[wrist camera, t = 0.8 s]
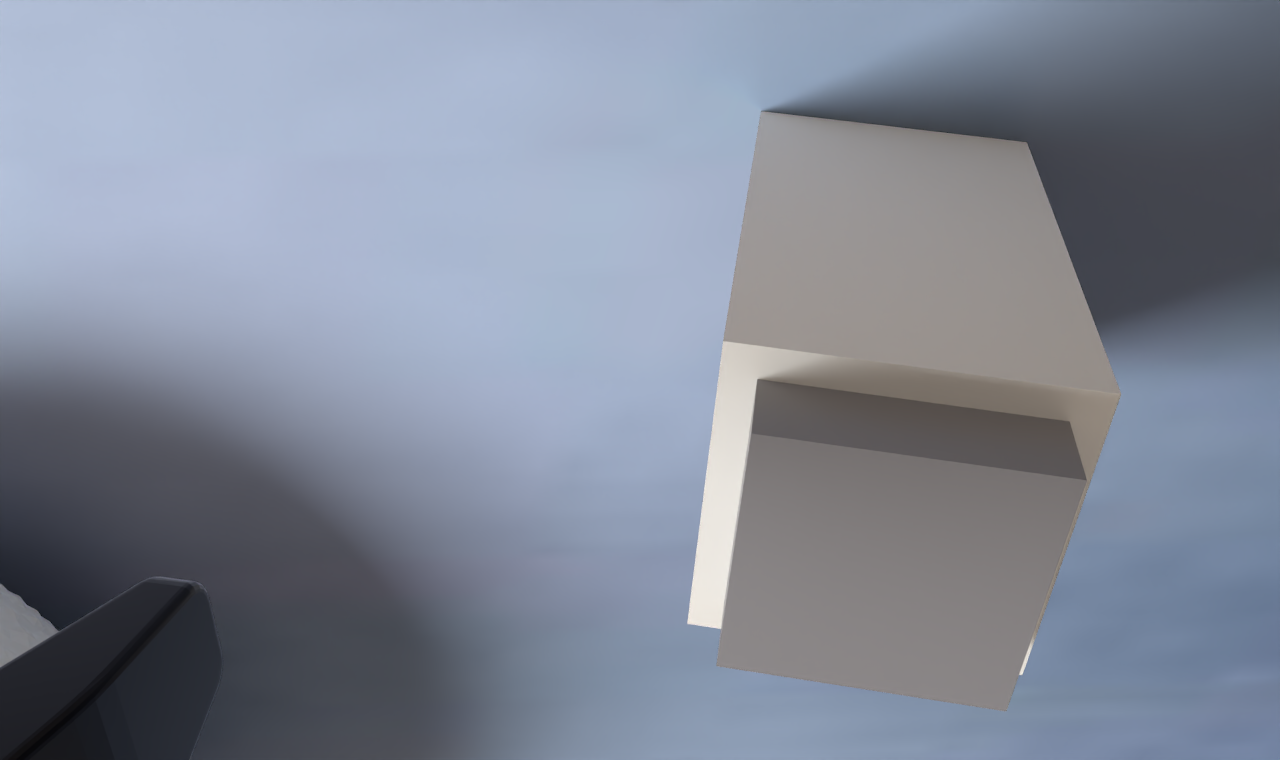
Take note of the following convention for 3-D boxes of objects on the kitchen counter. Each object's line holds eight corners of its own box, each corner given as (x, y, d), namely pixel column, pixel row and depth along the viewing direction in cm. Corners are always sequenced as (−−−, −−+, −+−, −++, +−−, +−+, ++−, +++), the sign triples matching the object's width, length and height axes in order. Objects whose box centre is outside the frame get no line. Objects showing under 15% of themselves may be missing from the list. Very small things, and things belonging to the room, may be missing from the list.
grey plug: (1026, 142, 18) (1143, 452, 11) (967, 367, 20) (1033, 741, 13) (761, 111, 18) (715, 393, 11) (731, 336, 20) (677, 685, 13)
